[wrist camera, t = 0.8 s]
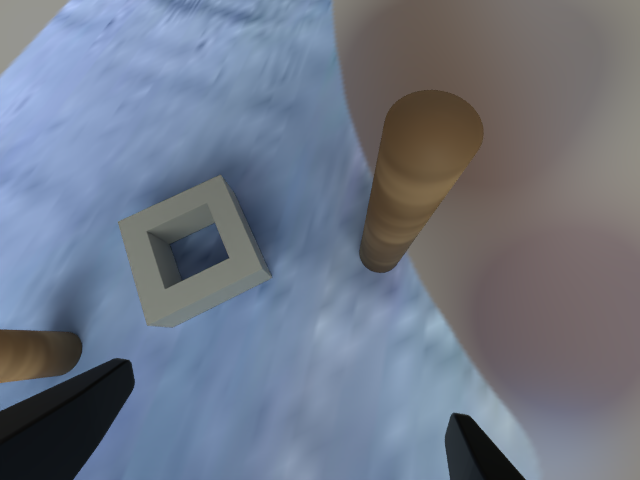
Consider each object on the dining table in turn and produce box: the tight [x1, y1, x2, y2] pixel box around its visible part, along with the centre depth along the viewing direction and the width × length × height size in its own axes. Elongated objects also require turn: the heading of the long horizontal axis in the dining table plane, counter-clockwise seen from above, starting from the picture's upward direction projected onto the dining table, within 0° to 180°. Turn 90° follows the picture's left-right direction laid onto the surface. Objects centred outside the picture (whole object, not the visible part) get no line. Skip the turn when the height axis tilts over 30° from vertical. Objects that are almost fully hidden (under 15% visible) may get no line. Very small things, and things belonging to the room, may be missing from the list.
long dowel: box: [359, 90, 483, 273], centre depth 16 cm, size 3×3×14 cm
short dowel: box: [0, 330, 82, 383], centre depth 19 cm, size 3×3×5 cm
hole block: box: [118, 175, 272, 328], centre depth 22 cm, size 8×8×3 cm
